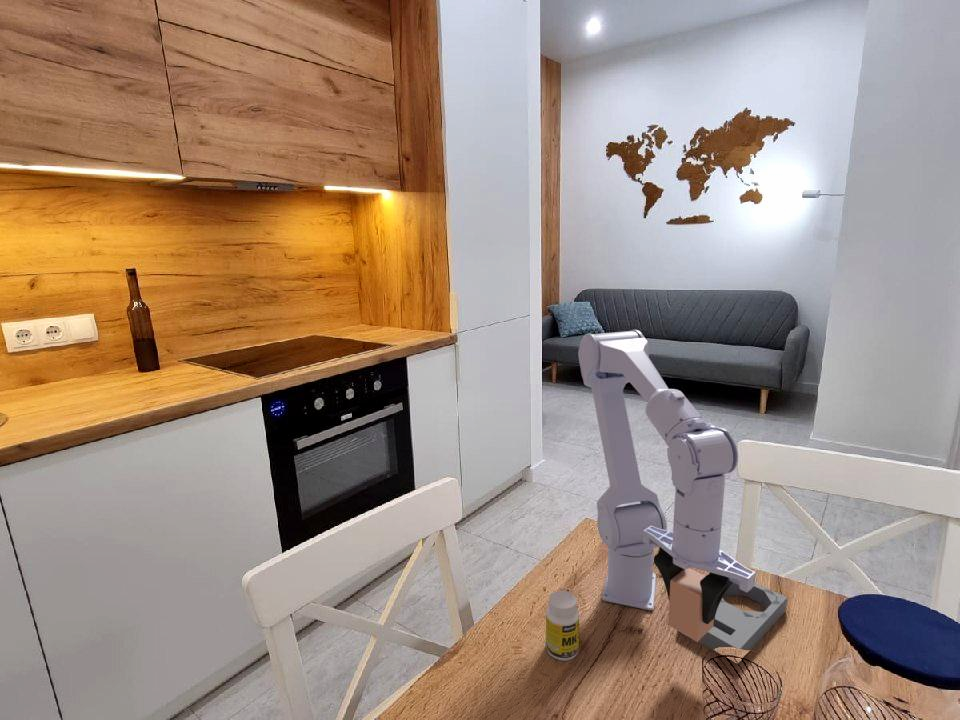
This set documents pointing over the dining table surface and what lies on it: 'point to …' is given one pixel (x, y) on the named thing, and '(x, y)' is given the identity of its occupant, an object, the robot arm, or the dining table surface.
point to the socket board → (744, 619)
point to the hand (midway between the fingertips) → (691, 610)
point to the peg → (687, 605)
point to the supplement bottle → (562, 626)
